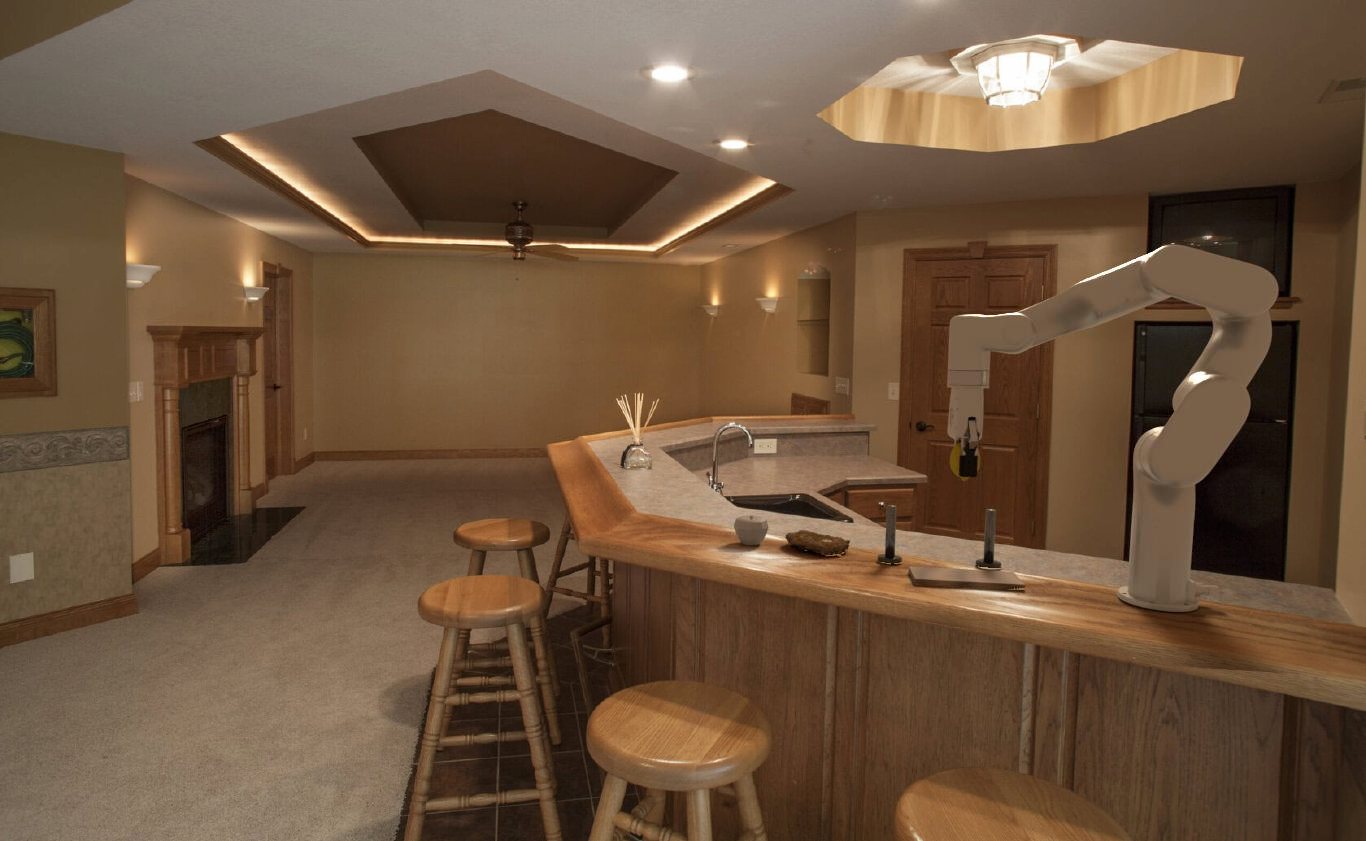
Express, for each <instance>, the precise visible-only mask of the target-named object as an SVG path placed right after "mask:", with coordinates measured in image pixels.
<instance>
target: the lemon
mask: <svg viewBox="0 0 1366 841" xmlns="http://www.w3.org/2000/svg"><path fill="white" fill-rule="evenodd" d="M966 444H967V443H965V445H966ZM965 448H966V446H965ZM960 455H961V442H960V443H958V444H957V445H955V446H954V445H953V448H952V449H951V452H950V456H949V467H950V470H951V471H952V473H953V474H954V475H955V476H956V477H958V478H960V479H961V481H963V482H966V481H967V480H969V479H970V478H971V477H960V476H959V459H960ZM977 456H978V465H977V472H979V470H980V466H981V455H980V452H979V450H978V455H977Z"/></svg>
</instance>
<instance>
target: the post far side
mask: <svg viewBox="0 0 1366 841" xmlns="http://www.w3.org/2000/svg"><path fill="white" fill-rule="evenodd" d="M885 512H886V517H885V542H884V544H885V547H884V554H883V553H882V554H879V555H877V560H878V561H879V562H885V563H891V564H894V563H900V562H902V563H903V558H902V556H900V555H896V532H897V531H896V530H897V505H894V504H891V505H890V504H887V505H886V511H885ZM878 561H877V562H878ZM879 562H878V563H879Z"/></svg>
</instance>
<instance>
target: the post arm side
mask: <svg viewBox="0 0 1366 841" xmlns="http://www.w3.org/2000/svg"><path fill="white" fill-rule="evenodd" d="M996 519H997V509H994V508H993V509H992V508H987V509H985V520H984V522H985V523H984V539H983V540H984V543H983V558H981V559H980V558H979V559H976V560H975V567H976V566H979V567H988V568H1001V569H1002V562H1001V561H998V560H995V559H994V558H995V544H996V541H995V540H996V521H997V520H996Z"/></svg>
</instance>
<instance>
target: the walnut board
mask: <svg viewBox="0 0 1366 841" xmlns="http://www.w3.org/2000/svg"><path fill="white" fill-rule="evenodd" d="M908 574H909V575H910V578H911V580H912V582H913V584H914V585H915V586H925V587H926V586H927V587H928V586H929V587H944V588H965V589H986V590H999V589H1014V588H1015V589H1017V588H1018V589H1019V588H1025V589H1026V584H1025V583H1024V582H1023V580H1021V579H1020V577H1018V576H1017V574H1016V573H1015V572H1014V571H1007V570H1006V571H1005V570H985V569H969V568H965V569H964V568H950V567H949V568H947V567H931V566H930V567H928V566H910V565H909V566H908Z"/></svg>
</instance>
